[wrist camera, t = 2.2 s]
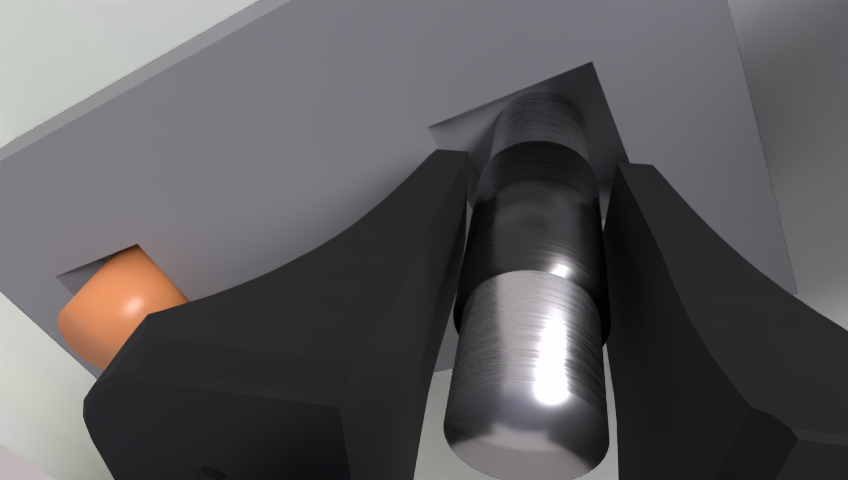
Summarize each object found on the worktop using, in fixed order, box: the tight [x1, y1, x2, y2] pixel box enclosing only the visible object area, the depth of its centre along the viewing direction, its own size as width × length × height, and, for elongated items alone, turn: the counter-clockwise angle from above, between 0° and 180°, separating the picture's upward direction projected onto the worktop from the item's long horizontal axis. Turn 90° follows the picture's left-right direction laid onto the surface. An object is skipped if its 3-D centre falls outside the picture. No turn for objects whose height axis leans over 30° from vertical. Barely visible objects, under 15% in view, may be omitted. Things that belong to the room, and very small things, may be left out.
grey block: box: [0, 0, 798, 379], centre depth 17 cm, size 20×10×4 cm, turn 117°
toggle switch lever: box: [444, 91, 611, 480], centre depth 11 cm, size 2×2×8 cm
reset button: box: [58, 244, 190, 370], centre depth 18 cm, size 3×3×3 cm
